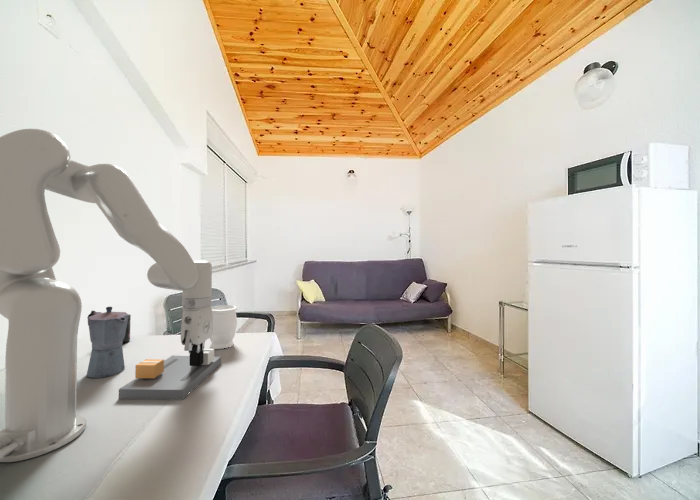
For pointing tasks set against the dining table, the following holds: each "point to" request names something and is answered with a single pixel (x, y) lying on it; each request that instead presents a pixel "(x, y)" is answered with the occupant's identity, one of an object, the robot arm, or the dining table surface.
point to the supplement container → (127, 331)
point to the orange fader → (149, 368)
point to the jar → (223, 326)
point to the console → (170, 380)
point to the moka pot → (106, 342)
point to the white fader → (208, 356)
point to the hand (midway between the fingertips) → (196, 364)
